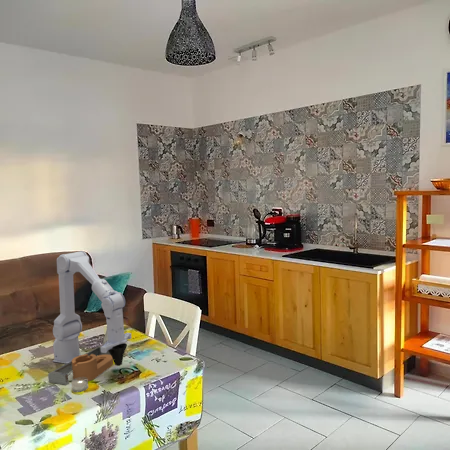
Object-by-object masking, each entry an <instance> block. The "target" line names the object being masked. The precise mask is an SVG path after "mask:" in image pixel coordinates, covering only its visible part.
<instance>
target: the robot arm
mask: <svg viewBox="0 0 450 450" xmlns="http://www.w3.org/2000/svg"><path fill="white" fill-rule="evenodd" d="M75 273H80V274H81V275H82V276H83V277H84V278H85V279H86V280H87V281H88V282H89V283H90V284H91V291H92V292H93V294H95V296H96V297H97V298H98V299H99V301H101V309H102V310H103V312H104V313H103V314H104V317H105V319H106V321H107V322H106V321H105V322H106V330H107V333H108V341H107V342H106V343H105V344H103V345H102V346H101V345H100V346H101V352H102V353H106V352H107V351H109V353H110V354H111V356H112V358H113V364H114V366H117V367H118V366H119V367H120V366H121V365H123V360H124V355H125V351H126V349H127V347H128V345H127V343H128V340H131V339H132V332H126V333H125V327H124V326H125V325H124V313H123V308H124V307H125V306H126V299H125V296H124V295H123V293H122V292H120V291H119V292H118V291H117V290H114V289H113V287H112V286H111V284H109V282H108V281H107V280H106V279H105V278H100V277H99V275H98V274H97V272H96V271H95V269H94V268H93V266H92V265H91V263H90V257H89V255H87V253H86V251H83V250H80V251H77V252H76V251H75V252H69V253H63V254H60V255H59V256H58V257H57V258H56V274H58V293H59V308H60V309H59V313H60V314H58V316H57V317H56V318H55V319H54V320H53V328H52V334H53V337H54V338H55V339H54V341H53V344H52V349H53V357H54V359H53V360H52V362H54V363H59V364H67V363H69V362H71V361H72V359H73V358H75V357H77V356H80V355H81V353H80V341H79V340H80V339H79V336H80V333H82V330H83V323H82V321H81V316H80V315H79V314H77V313H76V312H75V310H76V309H75V306H76V305H75V289H74V288H75V286H74V275H75Z"/></svg>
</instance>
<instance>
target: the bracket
mask: <svg viewBox="0 0 450 450" xmlns="http://www.w3.org/2000/svg"><path fill="white" fill-rule="evenodd" d="M113 365H114V361H113V358H112V356H111V355H99V356H96V355H94V354H91V355H89V356H88V354H86V353H84V354H80V356H77V357H75V358H73V359H72V370H71V372H72V380H73V379H75V378H78V377H87V380H88V382H90V381H92V380H95V379H96V378H98V377H99V376H101V375H102V374H104V372H106V371H107V370H108V369H110V368H111V367H112V366H113Z"/></svg>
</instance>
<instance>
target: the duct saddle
mask: <svg viewBox="0 0 450 450" xmlns="http://www.w3.org/2000/svg"><path fill="white" fill-rule="evenodd" d="M107 341H108V340H107ZM107 341H106V342H107ZM106 342H105V343H106ZM85 354H88V356H89V355H91V354H94V355H96V356H99V355H111V354H110V353H109V351H107V352H106V353H102V352H101V345H99V346H97V347H95V348H93V349H91V350H89V351H88V352H86V353H85ZM69 372H72V361H71V362H69V363H67V364H66V363H64V364H63V365H62V366H60V367H58V368H56V369H55V370H52V371H50V372H49V373H47V377H48V379H47V380H48V382H49V383H52V384H57V385H62V386H67V385H69V384H70V383H69V374H68V373H69Z"/></svg>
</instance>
